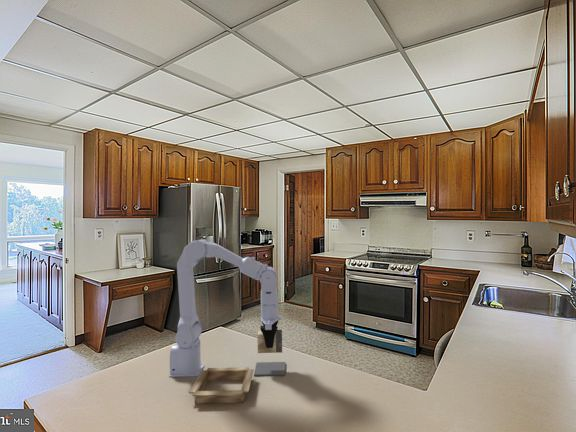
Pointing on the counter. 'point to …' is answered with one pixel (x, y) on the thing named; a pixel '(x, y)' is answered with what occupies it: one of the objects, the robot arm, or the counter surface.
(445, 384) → the counter surface
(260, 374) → the mat
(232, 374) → the square wooden frame
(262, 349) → the box
